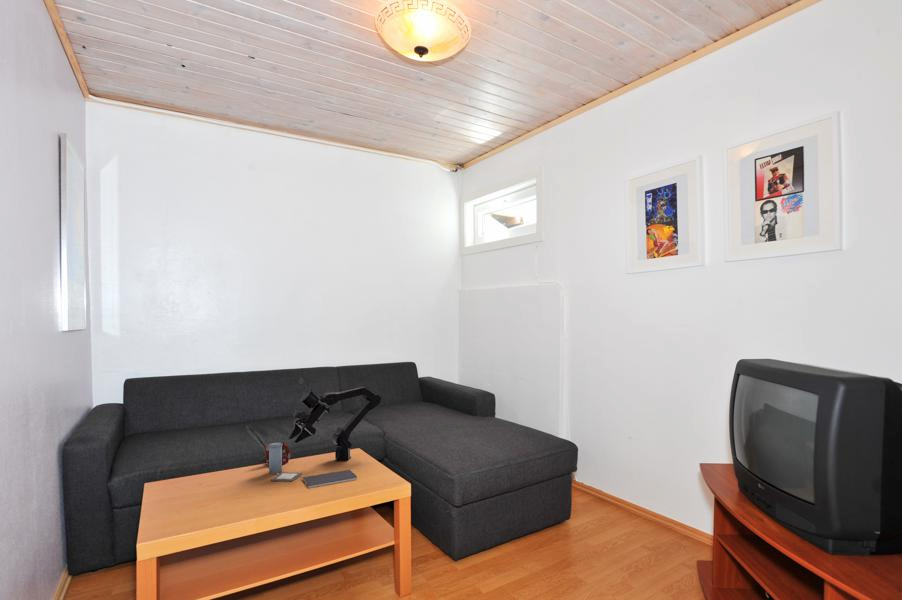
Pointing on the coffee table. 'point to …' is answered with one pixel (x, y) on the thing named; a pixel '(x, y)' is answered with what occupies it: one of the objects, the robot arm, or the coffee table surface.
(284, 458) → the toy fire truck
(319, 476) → the notebook
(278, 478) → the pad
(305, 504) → the coffee table surface
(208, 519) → the coffee table surface
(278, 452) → the vase
